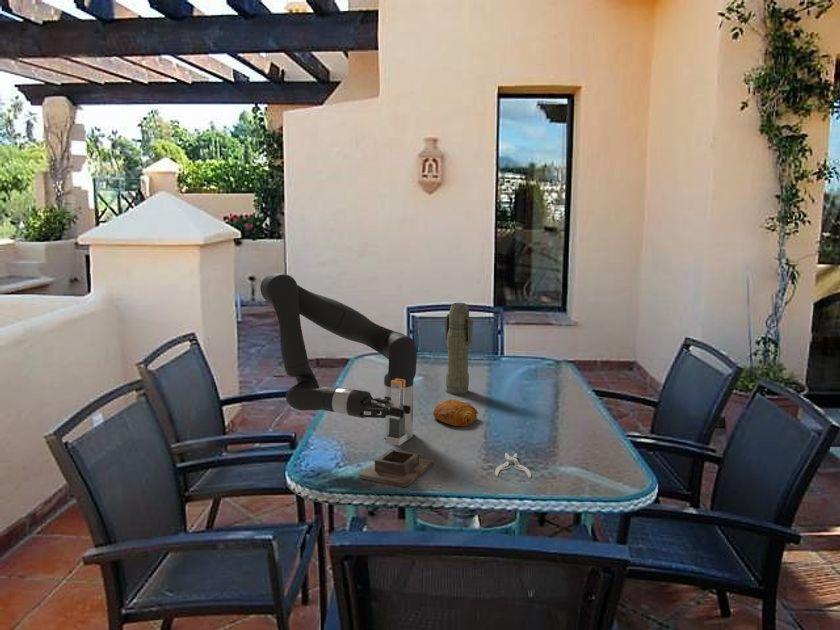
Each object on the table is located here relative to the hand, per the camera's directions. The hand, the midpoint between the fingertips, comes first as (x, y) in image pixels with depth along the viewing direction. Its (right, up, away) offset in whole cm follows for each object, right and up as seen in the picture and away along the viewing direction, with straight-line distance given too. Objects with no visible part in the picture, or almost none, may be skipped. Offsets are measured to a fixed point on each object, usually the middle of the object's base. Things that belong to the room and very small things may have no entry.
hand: (406, 411), depth 188 cm
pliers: (+30, -17, +9) cm, 36 cm away
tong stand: (-3, -17, +4) cm, 18 cm away
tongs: (-3, -9, +3) cm, 9 cm away
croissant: (+16, -10, +49) cm, 52 cm away
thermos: (+18, -4, +84) cm, 86 cm away
